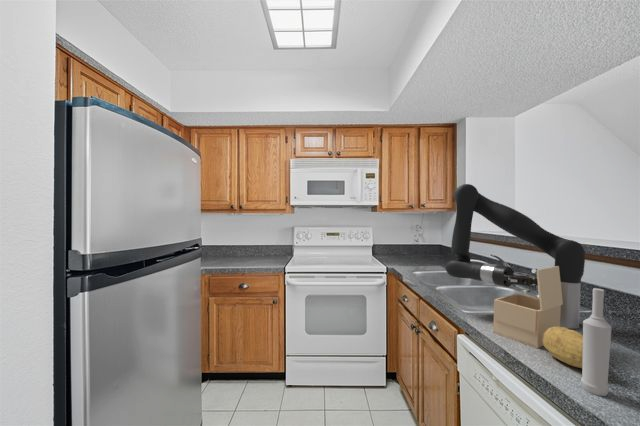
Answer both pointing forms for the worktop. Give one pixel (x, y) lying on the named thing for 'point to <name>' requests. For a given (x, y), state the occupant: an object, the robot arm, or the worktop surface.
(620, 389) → the worktop surface
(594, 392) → the bottle
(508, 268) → the robot arm
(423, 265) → the worktop surface
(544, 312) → the carton
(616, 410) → the worktop surface
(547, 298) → the carton flap
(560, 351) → the potato
